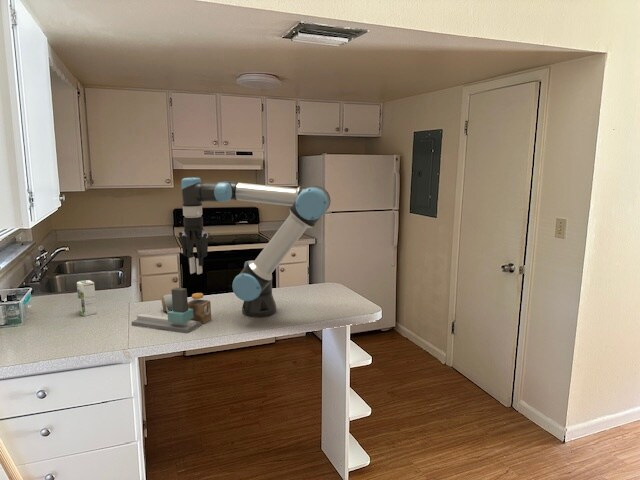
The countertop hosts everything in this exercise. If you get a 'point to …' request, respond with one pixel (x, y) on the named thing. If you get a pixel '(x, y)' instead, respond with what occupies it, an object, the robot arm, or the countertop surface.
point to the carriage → (180, 307)
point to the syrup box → (86, 297)
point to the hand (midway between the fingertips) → (196, 273)
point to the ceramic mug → (167, 302)
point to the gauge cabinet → (200, 310)
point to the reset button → (197, 295)
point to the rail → (164, 323)
